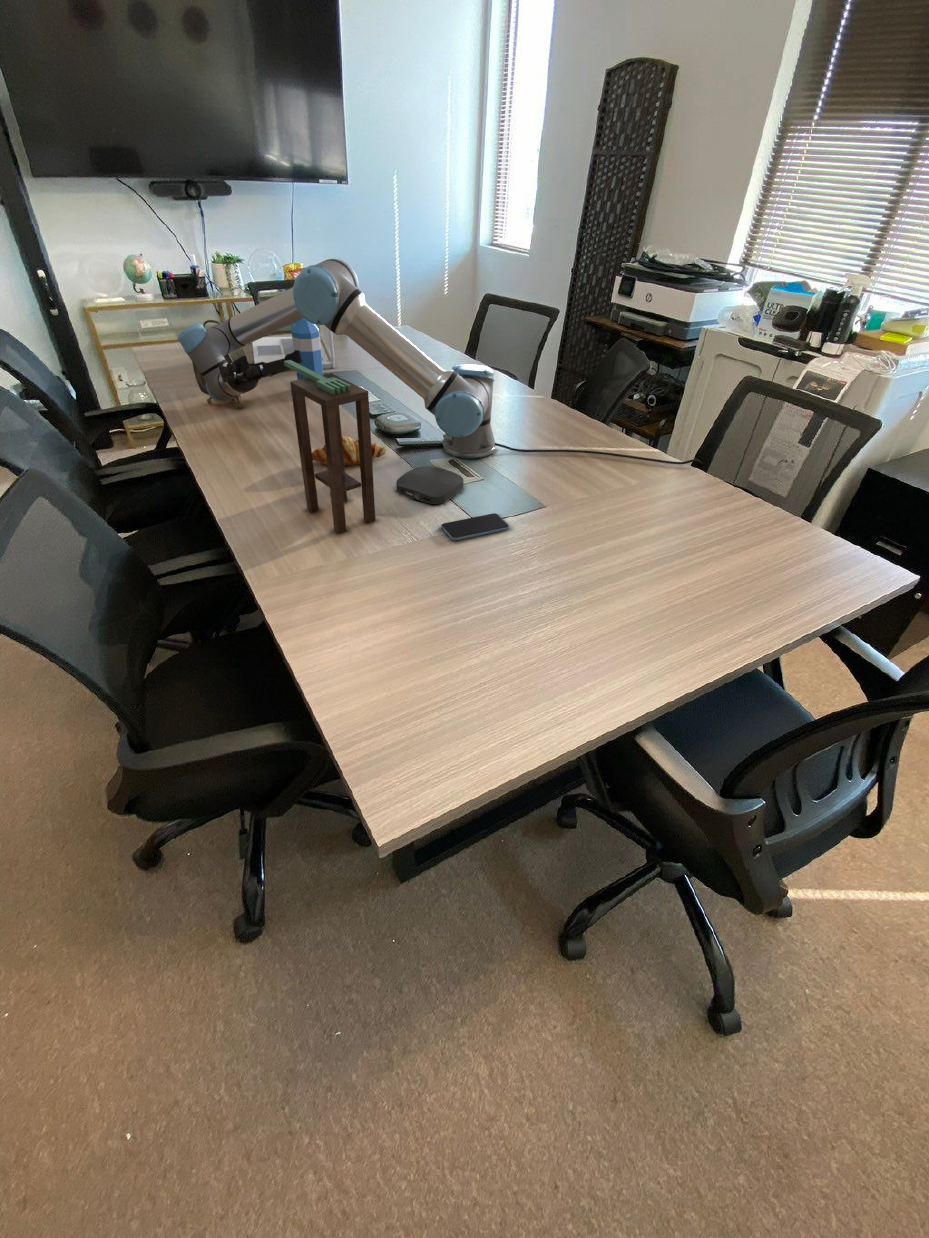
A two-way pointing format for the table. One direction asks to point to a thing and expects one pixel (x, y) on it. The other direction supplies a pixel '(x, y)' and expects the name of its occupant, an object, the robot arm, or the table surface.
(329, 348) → the laptop
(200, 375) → the tabletop clock
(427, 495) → the media streaming box
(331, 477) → the plant stand
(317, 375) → the fork
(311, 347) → the water bottle
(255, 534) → the table surface
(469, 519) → the smartphone
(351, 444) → the croissant
